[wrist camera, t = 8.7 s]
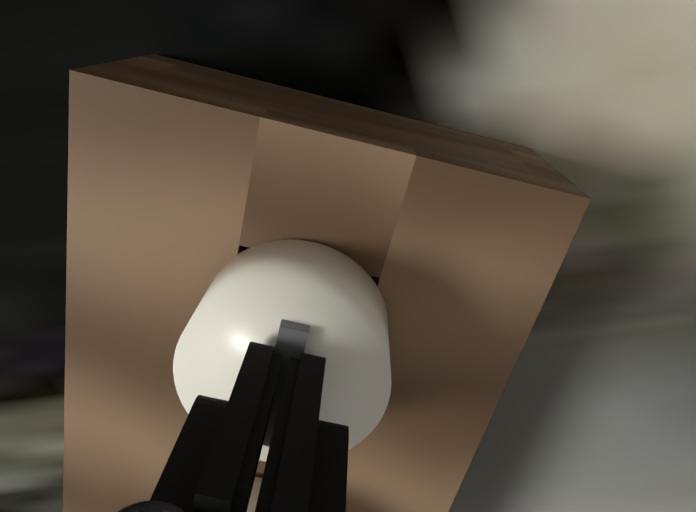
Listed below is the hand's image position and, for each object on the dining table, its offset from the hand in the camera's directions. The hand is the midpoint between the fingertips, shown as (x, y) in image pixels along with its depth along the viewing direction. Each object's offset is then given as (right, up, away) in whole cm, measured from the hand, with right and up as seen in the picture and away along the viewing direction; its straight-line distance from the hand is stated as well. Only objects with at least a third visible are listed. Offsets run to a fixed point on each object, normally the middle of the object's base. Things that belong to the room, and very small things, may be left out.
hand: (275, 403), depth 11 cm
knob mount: (-1, -3, +10) cm, 11 cm away
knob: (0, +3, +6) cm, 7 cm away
